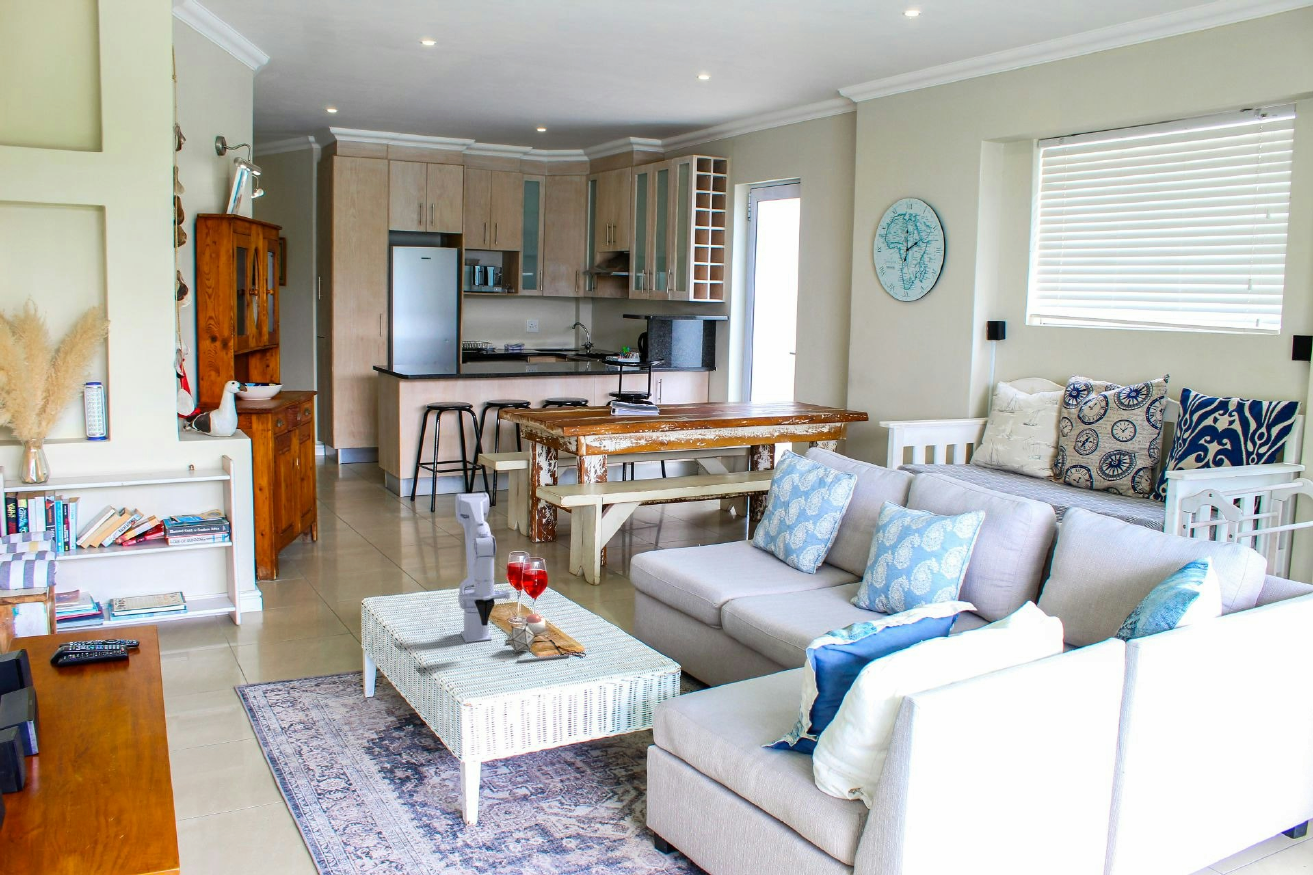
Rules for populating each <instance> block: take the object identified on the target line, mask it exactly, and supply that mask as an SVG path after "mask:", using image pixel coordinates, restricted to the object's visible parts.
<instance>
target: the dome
mask: <svg viewBox="0 0 1313 875" xmlns="http://www.w3.org/2000/svg"><path fill="white" fill-rule="evenodd" d="M521 623H522V624H521V626H525V625H526V623H528V625H527V626H528V628H529V629H530V630H531V631H532V633H533V634H538V633H542V632H544V631H545V627H546V619H545V618H543V617H541V616H540V615H539V614H537V613H532V614H529V615H528V616H527V617H525V618H523V619H522V621H521Z"/></svg>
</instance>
